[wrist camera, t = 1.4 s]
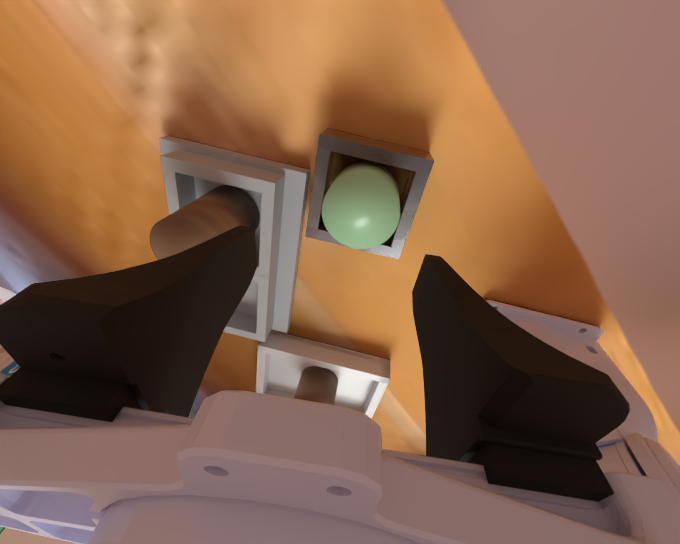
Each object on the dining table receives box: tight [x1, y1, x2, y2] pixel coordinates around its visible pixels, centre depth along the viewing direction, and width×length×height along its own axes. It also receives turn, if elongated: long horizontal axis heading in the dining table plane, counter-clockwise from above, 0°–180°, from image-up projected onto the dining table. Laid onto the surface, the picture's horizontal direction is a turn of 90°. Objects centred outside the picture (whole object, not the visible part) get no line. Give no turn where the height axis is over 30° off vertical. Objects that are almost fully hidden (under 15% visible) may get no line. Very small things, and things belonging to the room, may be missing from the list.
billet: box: [294, 366, 338, 405], centre depth 28 cm, size 4×4×6 cm
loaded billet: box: [150, 185, 260, 260], centre depth 19 cm, size 4×4×6 cm
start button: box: [322, 161, 400, 249], centre depth 18 cm, size 4×4×3 cm
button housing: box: [306, 129, 434, 259], centre depth 19 cm, size 6×6×2 cm
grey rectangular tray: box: [159, 136, 310, 342], centre depth 23 cm, size 10×15×3 cm, turn 169°
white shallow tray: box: [256, 330, 390, 418], centre depth 30 cm, size 13×10×2 cm
